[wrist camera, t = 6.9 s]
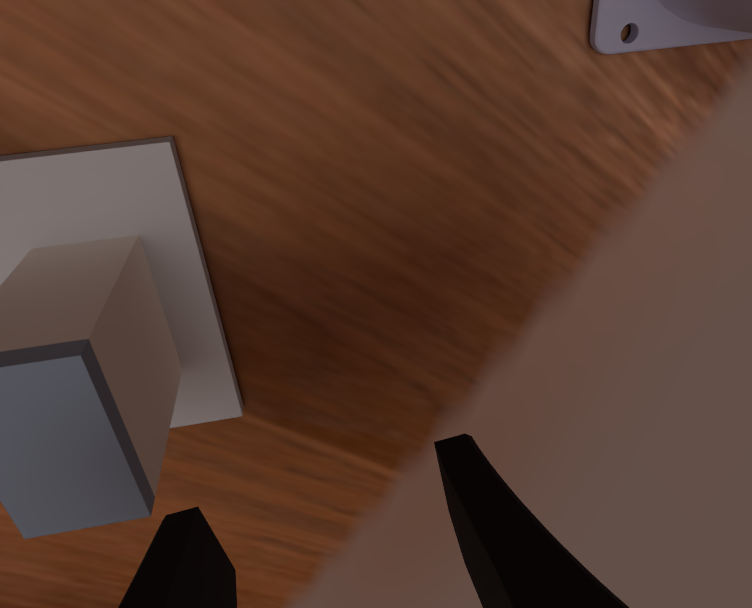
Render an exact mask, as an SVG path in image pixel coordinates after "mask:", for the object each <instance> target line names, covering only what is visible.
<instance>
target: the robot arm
mask: <svg viewBox="0 0 752 608" xmlns="http://www.w3.org/2000/svg"><path fill="white" fill-rule="evenodd" d="M627 24H629V25H630V26H631V32H630V35H629V37H628V38H627V39H626V40H625V41H622V40H621V32H622V29H623V28H624V27H625V26H626V25H627ZM745 39H752V0H594V3H593V11H592V20H591V29H590V44H591V46H592V48H593V49H594V50H596V51H597V52H599V53H603V54H617V53H626V52H635V51H644V50H654V49H663V48H672V47H681V46H690V45H700V44H709V43H718V42H727V41H736V40H745ZM434 444H435V449H436V453H437V458H438V463H439V467H440V472H441V476H442V482H443V486H444V491H445V496H446V500H447V505H448V510H449V513H450V517H451V520H452V523H453V526H454V530H455V533H456V536H457V539H458V542H459V546H460V549H461V552H462V556H463V559H464V562H465V565H466V567H467V570H468V572H469V574H470V577H471V579H472V582H473V584H474V587H475V589H476V592H477V594H478V597H479V599H480V601H481V604H482V606H483V608H629V607H628V606H627V605H626V604H624V603H623V602H622V601H621V600H620V599H619V598H618V597H616V596H615V595H614V594H613V593H612V592H611V591H610V590H609V589H608V588H606V587H605V586H604V585H603V584H602V583H601V582H600V581H599V580H598V579H597V578H596V577H594V576H593V575H592V574H591V573H590V572H589V571H588V570H587V569H586V568H585V567H584V566H583V565H582V564H581V563H580V562H579V561H578V560H577V559H576V558H575V557H574V556H573V555H572V554H571V553H569V551H568V550H567V549H566V548H564V547H563V545H561V543H560V542H559V541H557V539H556V538H555V537H554V536H553V535H552V534H551V533H550V532H549V531H548V530H547V529H546V528H545V527H544V526H543V525H542V524H541V523H540V521H539V520H538V519H537V518H536V517H535V516H534V515H533V514H532V513H531V512H530V510H529V509H528V508H527V507H526V506H525V505H524V504H523V503H522V502H521V500H519V498H518V497H517V496H516V495H515V494H514V492H513V491H512V490H511V489H510V488H509V486H508V485H507V484H506V483H505V482H504V480H503V479H502V478H501V477H500V475H499V474H498V473H497V472H496V470H495V469H494V468H493V466H492V465H491V464H490V463H489V461H488V460H487V459H486V457H485V456H484V455H483V453H482V452H481V450H480V449H479V447H478V446H477V444H476V443H475V441H474V440H473V438H472V436H469V435H467V434H462V435H458V436H455V437H451V438H448V439H444V440H440V441H437V442H434ZM118 608H237V595H236V574H235V569H234V567H233V565H232V563H231V562H230V560H229V558H228V557H227V555H226V553H225V552H224V550H223V548H222V546H221V545H220V543H219V541H218V540H217V538H216V536H215V535H214V533H213V531H212V529H211V528H210V526H209V524H208V523H207V521H206V519H205V518H204V516H203V514H202V513H201V511H200V509H199V507H195V508H191V509H188V510H184V511H180V512H177V513H173V514H169V515H166V516H165V518H164V519H163V521H162V523H161V525H160V527H159V529H158V531H157V533H156V535H155V537H154V539H153V541H152V543H151V545H150V547H149V549H148V551H147V553H146V555H145V557H144V559H143V561H142V563H141V565H140V567H139V569H138V571H137V573H136V574H135V576H134V578H133V580H132V582H131V584H130V586H129V588H128V590H127V592H126V594H125V596H124V598H123V600H122V602H121V603H120V605H119V607H118Z"/></svg>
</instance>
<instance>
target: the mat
mask: <svg viewBox="0 0 752 608" xmlns="http://www.w3.org/2000/svg"><path fill="white" fill-rule="evenodd" d="M133 235H139V237H140V240H141V243H142V246H143V249H144V253H145V256H146V259H147V262H148V265H149V268H150V271H151V274H152V277H153V280H154V283H155V287H156V290H157V293H158V296H159V299H160V302H161V305H162V308H163V311H164V314H165V318H166V321H167V324H168V327H169V330H170V333H171V336H172V339H173V342H174V345H175V348H176V352H177V355H178V358H179V361H180V364H181V367H182V373H181V378H180V383H179V387H178V392H177V397H176V401H175V406H174V411H173V415H172V420H171V425H170V428H174V427H180V426H186V425H192V424H198V423H204V422H210V421H216V420H222V419H228V418H235V417H241V416H243V403H242V399H241V395H240V391H239V387H238V384H237V380H236V376H235V372H234V368H233V365H232V361H231V357H230V353H229V349H228V345H227V342H226V338H225V334H224V330H223V326H222V323H221V319H220V315H219V311H218V307H217V303H216V300H215V296H214V292H213V288H212V284H211V281H210V277H209V273H208V269H207V265H206V261H205V258H204V254H203V250H202V246H201V242H200V239H199V235H198V231H197V227H196V223H195V219H194V216H193V212H192V208H191V204H190V200H189V197H188V193H187V189H186V185H185V181H184V177H183V174H182V170H181V166H180V162H179V158H178V155H177V151H176V147H175V143H174V139H173V136H170V137H161V138H152V139H144V140H135V141H126V142H117V143H109V144H100V145H91V146H83V147H74V148H65V149H56V150H48V151H39V152H30V153H22V154H13V155H4V156H0V286H1V285H2V283H3V282H4V281H5V280H6V279H7V277H8V276H9V275H10V274H11V273H12V272H13V270H14V269H15V268H16V267H17V266H18V264H19V263H20V262H21V261H22V260H23V258H24V257H25V256H26V255H27V254H28V252H29V251H30V250H31V249H34V248H42V247H49V246H57V245H64V244H72V243H80V242H87V241H95V240H103V239H110V238H118V237H126V236H133Z"/></svg>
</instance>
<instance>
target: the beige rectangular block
mask: <svg viewBox="0 0 752 608" xmlns="http://www.w3.org/2000/svg"><path fill="white" fill-rule="evenodd" d="M181 373H182V367H181V364H180V361H179V358H178V355H177V352H176V348H175V345H174V342H173V339H172V336H171V333H170V330H169V327H168V324H167V321H166V318H165V314H164V311H163V308H162V305H161V302H160V299H159V296H158V293H157V290H156V287H155V283H154V280H153V277H152V274H151V271H150V268H149V265H148V262H147V259H146V256H145V253H144V249H143V246H142V243H141V240H140V237H139V235H133V236H126V237H118V238H110V239H103V240H95V241H87V242H80V243H72V244H64V245H57V246H49V247H42V248H34V249H31V250H30V251H29V252H28V254H27V255H26V256H25V257H24V258H23V260H22V261H21V262H20V263H19V264H18V266H17V267H16V268H15V269H14V270H13V272H12V273H11V274H10V275H9V276H8V277H7V279H6V280H5V281H4V282H3V283H2V285H1V286H0V501H1V503H2V504H3V506H4V507H5V509H6V511H7V512H8V514H9V515H10V517H11V518H12V520H13V522H14V523H15V525H16V526H17V528H18V529H19V531H20V533H21V534H22V536H23V537H24V539H27V538H32V537H38V536H44V535H49V534H55V533H60V532H66V531H72V530H77V529H83V528H88V527H94V526H100V525H105V524H111V523H116V522H122V521H128V520H133V519H139V518H144V517H150V516H151V513H152V508H153V504H154V499H155V494H156V490H157V485H158V480H159V476H160V471H161V466H162V462H163V457H164V452H165V448H166V443H167V438H168V434H169V429H170V425H171V420H172V415H173V411H174V406H175V401H176V397H177V392H178V387H179V383H180V378H181Z"/></svg>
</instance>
